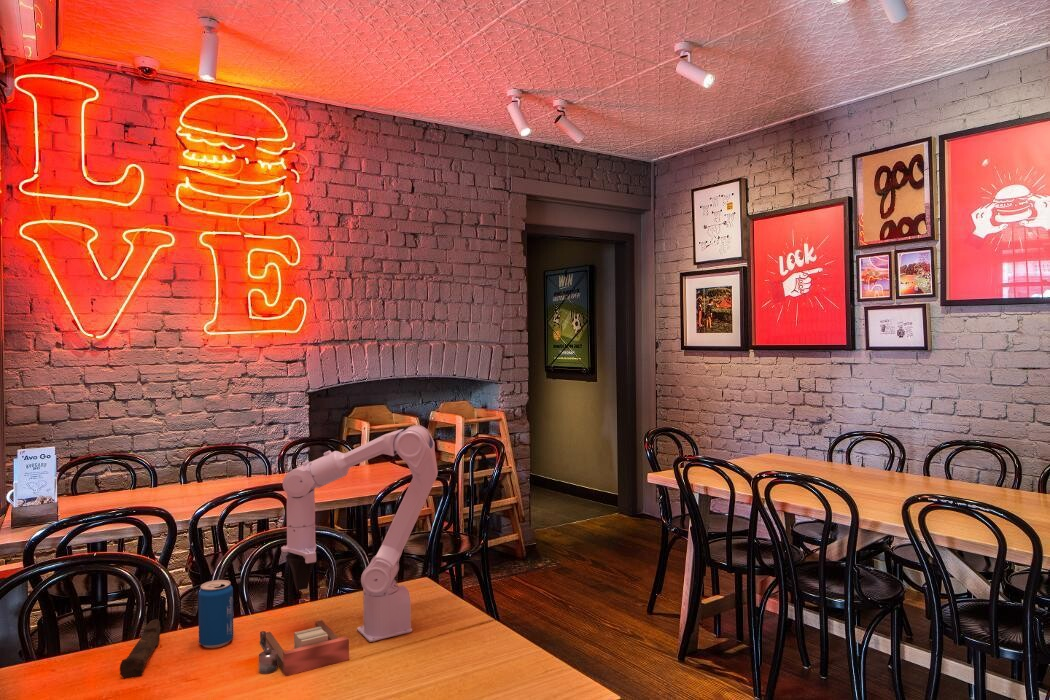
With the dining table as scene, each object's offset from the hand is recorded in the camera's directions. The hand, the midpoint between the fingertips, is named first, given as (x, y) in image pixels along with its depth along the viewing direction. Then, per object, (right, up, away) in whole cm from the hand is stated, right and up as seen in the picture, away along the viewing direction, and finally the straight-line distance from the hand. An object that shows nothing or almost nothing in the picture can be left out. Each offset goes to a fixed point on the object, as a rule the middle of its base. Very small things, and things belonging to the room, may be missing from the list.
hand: (301, 588), depth 147 cm
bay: (+3, -9, -8) cm, 13 cm away
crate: (+6, -10, -12) cm, 17 cm away
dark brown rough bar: (-28, -10, -11) cm, 31 cm away
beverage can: (-16, -10, -5) cm, 19 cm away
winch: (-2, -10, -15) cm, 18 cm away
